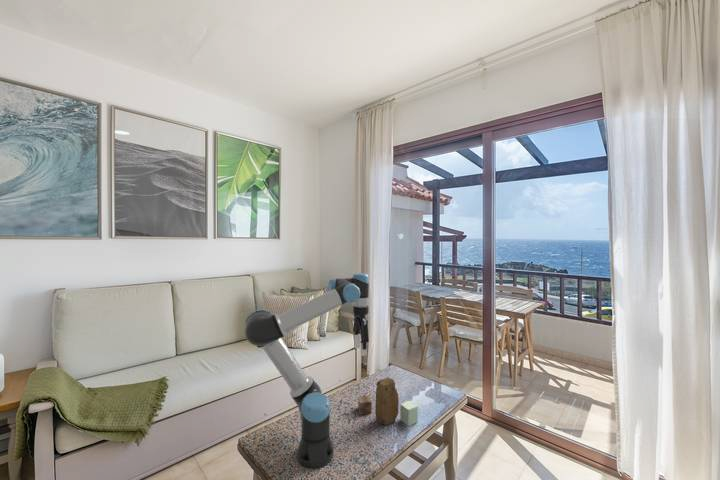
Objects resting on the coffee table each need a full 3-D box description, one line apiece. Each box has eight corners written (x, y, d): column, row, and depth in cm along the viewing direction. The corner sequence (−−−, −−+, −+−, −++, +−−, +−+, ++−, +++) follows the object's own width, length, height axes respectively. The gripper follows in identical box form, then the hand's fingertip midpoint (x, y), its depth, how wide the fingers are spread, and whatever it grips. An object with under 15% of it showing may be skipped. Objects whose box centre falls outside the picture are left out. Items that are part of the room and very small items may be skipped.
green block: (408, 426, 146) (408, 410, 146) (400, 419, 151) (400, 404, 151) (417, 422, 149) (417, 406, 149) (409, 416, 154) (409, 400, 154)
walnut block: (359, 414, 155) (360, 402, 155) (358, 407, 161) (358, 396, 161) (371, 413, 156) (371, 401, 156) (369, 406, 162) (369, 395, 162)
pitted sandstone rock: (382, 427, 145) (382, 386, 144) (373, 419, 151) (374, 379, 151) (400, 420, 150) (400, 380, 150) (391, 412, 157) (391, 374, 156)
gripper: (376, 310, 137) (375, 359, 137) (361, 300, 158) (360, 342, 158) (360, 311, 135) (360, 361, 135) (347, 301, 155) (346, 344, 156)
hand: (360, 351), depth 147 cm, fingers open, 9 cm apart
